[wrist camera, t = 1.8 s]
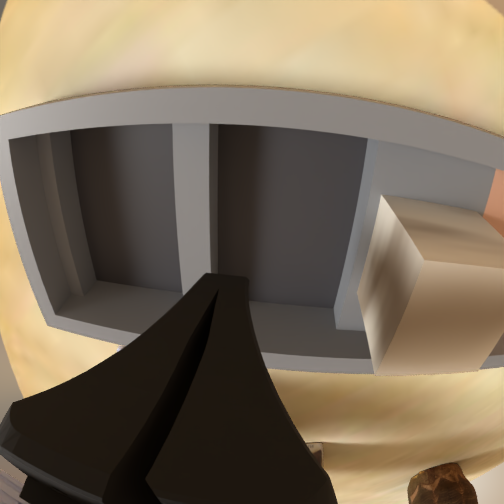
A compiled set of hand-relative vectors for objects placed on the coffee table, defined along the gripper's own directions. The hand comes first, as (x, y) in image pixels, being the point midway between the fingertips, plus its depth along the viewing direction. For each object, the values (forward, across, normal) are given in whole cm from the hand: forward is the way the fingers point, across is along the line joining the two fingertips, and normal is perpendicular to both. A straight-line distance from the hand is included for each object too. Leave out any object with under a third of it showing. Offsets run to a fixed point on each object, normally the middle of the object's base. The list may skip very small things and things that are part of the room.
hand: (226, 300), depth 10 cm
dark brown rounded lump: (+7, -30, +38) cm, 49 cm away
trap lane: (+6, -4, 0) cm, 7 cm away
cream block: (+4, -8, 0) cm, 9 cm away
